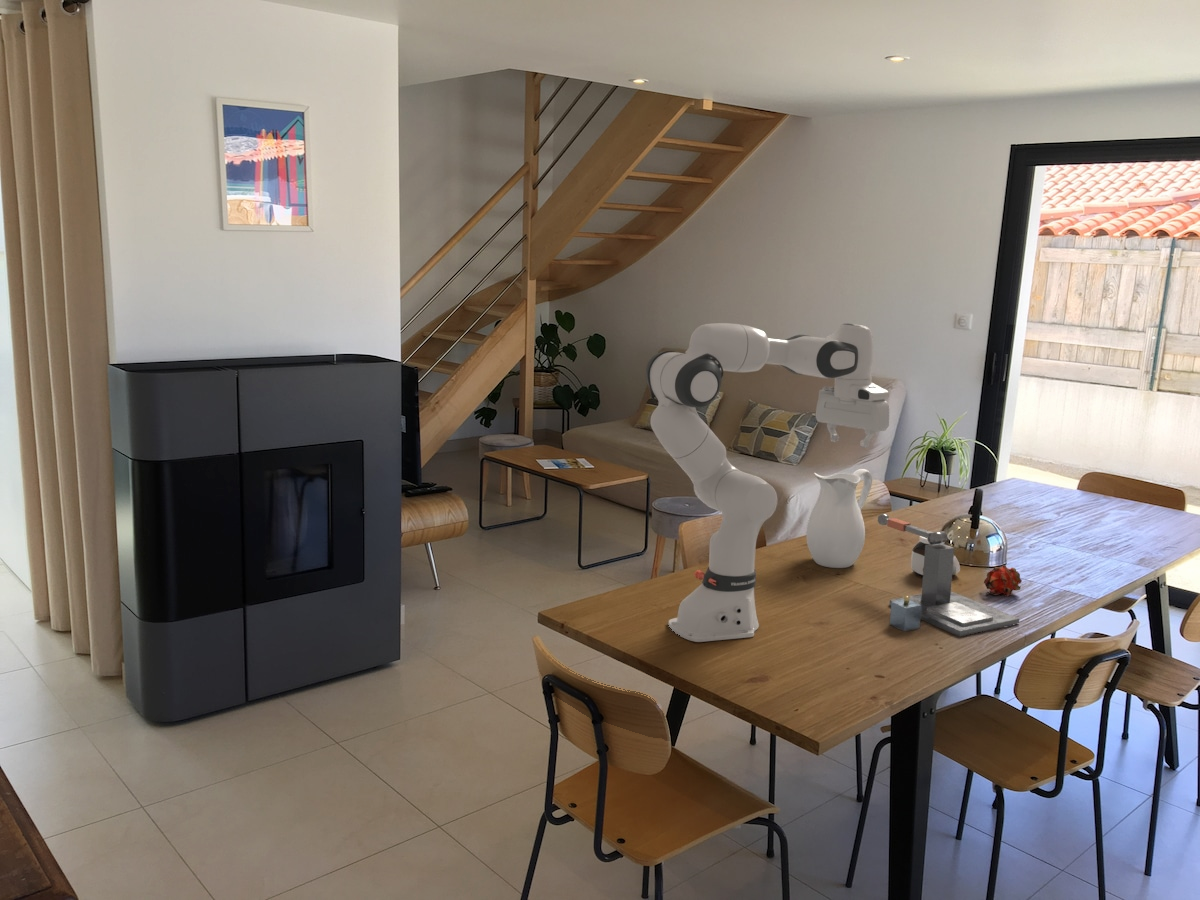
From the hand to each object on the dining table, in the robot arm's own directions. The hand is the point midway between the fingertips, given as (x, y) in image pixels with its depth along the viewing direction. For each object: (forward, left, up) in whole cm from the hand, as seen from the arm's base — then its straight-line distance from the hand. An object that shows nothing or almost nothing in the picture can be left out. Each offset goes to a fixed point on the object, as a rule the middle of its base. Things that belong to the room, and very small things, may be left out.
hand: (849, 444), depth 238 cm
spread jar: (+44, +11, -44) cm, 63 cm away
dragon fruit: (+48, -9, -44) cm, 66 cm away
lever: (+24, +2, -27) cm, 36 cm away
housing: (+7, -16, -44) cm, 47 cm away
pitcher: (+28, +33, -44) cm, 62 cm away
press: (+24, -15, -44) cm, 52 cm away
